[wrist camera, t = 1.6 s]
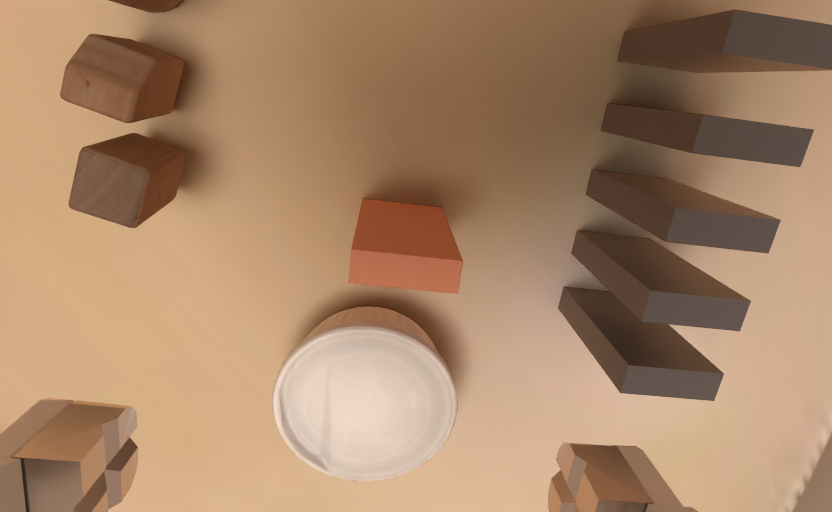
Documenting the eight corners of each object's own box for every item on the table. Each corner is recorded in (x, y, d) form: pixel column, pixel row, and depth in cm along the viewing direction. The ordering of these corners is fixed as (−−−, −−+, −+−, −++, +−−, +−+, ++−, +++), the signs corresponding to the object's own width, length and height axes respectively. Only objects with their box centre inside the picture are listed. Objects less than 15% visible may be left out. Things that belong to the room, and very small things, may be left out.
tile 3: (591, 169, 32) (675, 207, 23) (667, 179, 32) (780, 219, 23) (585, 194, 33) (665, 241, 23) (660, 203, 33) (768, 253, 24)
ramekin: (255, 338, 35) (233, 381, 30) (398, 261, 34) (400, 293, 29) (342, 453, 38) (334, 509, 33) (474, 388, 37) (487, 436, 32)
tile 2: (607, 103, 31) (703, 114, 21) (685, 114, 31) (813, 129, 22) (600, 130, 31) (692, 152, 22) (678, 140, 32) (800, 167, 22)
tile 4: (576, 230, 33) (651, 290, 24) (649, 238, 34) (750, 301, 24) (571, 253, 34) (641, 321, 24) (643, 261, 34) (739, 331, 25)
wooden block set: (213, 204, 32) (155, 262, 22) (62, 152, 30) (-74, 192, 20) (307, -108, 27) (286, -206, 17) (135, -195, 25) (2, -363, 15)
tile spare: (362, 198, 32) (351, 249, 23) (441, 207, 32) (463, 261, 23) (360, 223, 32) (348, 282, 23) (438, 231, 33) (457, 293, 23)
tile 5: (563, 286, 35) (628, 365, 25) (633, 294, 35) (723, 373, 26) (558, 308, 35) (620, 392, 26) (627, 315, 36) (713, 400, 26)
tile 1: (624, 31, 29) (735, 9, 20) (706, 43, 30) (851, 28, 20) (617, 61, 30) (721, 53, 21) (697, 72, 30) (836, 70, 21)
